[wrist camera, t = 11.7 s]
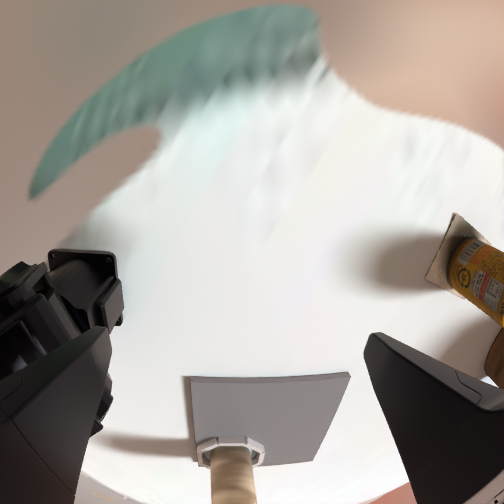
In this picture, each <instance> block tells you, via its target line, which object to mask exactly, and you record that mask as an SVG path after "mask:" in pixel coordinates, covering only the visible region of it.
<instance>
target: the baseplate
mask: <svg viewBox="0 0 504 504" xmlns="http://www.w3.org/2000/svg"><path fill="white" fill-rule="evenodd" d="M350 378H351V376H350V374H349V372H343V373H333V374H322V375H309V376H293V377H269V378H218V377H194V376H191V395H192V408H193V420H194V430H195V440H196V449H197V458H198V466H199V467H206V468H208V469H210V451H211V450H212V449H213V448H216V447H218V446H245V447H247V448H248V449H249V450H250V454H251V462H252V468H253V467H256V466H272V465H283V464H292V463H301V462H308V461H313V459H314V457H315V455H316V453H317V451H318V449H319V447H320V445H321V443H322V441H323V439H324V437H325V435H326V433H327V431H328V429H329V427H330V425H331V422H332V420H333V418H334V416H335V414H336V411H337V409H338V407H339V404H340V402H341V400H342V397H343V395H344V393H345V390H346V388H347V385H348V383H349V380H350Z"/></svg>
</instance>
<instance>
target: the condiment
mask: <svg viewBox="0 0 504 504" xmlns="http://www.w3.org/2000/svg"><path fill="white" fill-rule="evenodd" d="M465 235H466V236H465ZM444 264H445V267H446V269H445V267H444ZM425 279H426V280H428V281H429V282H431V283H433V284H435V285H438V286H439V287H441V288H443V289H445V290H447V291H449V292H451V293H453V294H455V295H457V296H459V297H461V298H463V299H465V298H466V299H468V300H469V301H470V302H472V303H473V304H474V305H476V306H477V307H478V308H479V309H481V310H482V311H483V312H485V313H486V314H487V315H489V316H490V317H491V318H492V319H494V320H495V321H496V322H497V323H498V324H499V325H500V326H501V327H503V328H504V252H502V251H500V250H498V249H496V248H494V247H492V246H491V243H490V242H489V241H488V240H486V239H485V238H484V237H483V236H482V235H481V234H480V233H479V232H478V231H477V230H476V229H474V227H472V226H471V225H470V224H469V223H468V222H467V221H465V220H464V219H463V218H462V217H461V216H460V215H458V214H456V216H455V218H454V220H453V222H452V224H451V226H450V228H449V230H448V233H447V235H446V236H445V238H444V240H443V243H442V245H441V247H440V249H439V250H438V252H437V255H436V258H435V260H434V262H433V263H432V265H431V267H430V270H429V272H428V274H427V276H426V277H425Z"/></svg>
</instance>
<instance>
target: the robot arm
mask: <svg viewBox="0 0 504 504" xmlns="http://www.w3.org/2000/svg"><path fill="white" fill-rule="evenodd" d="M52 254H53V255H54V256H55V258H54V257H53V256H52ZM108 257H110V258H111V260H112V261H111V262H110V261H109V260H108ZM48 261H49V267H50V271H49V272H47V270H48V269H47V267H46V265H45V263H44V262H43V263H41V264H39V265H37V264H34V265H32V266H31V265H30V266H29V265H27V264H26V263H24V262H23V261H21V262H19V263H18V264H16V265H15V266H13V267H12V268H11V269H9V270H8V271H6V272H5V273H4V274H2V275H1V276H0V504H74V499H75V496H74V495H75V493H76V488H77V484H78V479H79V475H80V471H81V467H82V463H83V459H84V455H85V451H86V447H87V444H88V440H89V438H90V437H91V436H93V435H94V434H96V433H97V432H99V431H100V430H102V429H103V425H102V424H101V423H100V422H101V421H102V420H103V419H104V417H105V415H106V413H107V412H108V410H109V408H110V406H111V404H112V401H113V396H112V395H111V388H112V380H111V378H110V375H109V373H108V368H109V363H110V359H111V355H112V346H111V341H110V337H109V334H110V333H111V331H112V329H113V327H114V326H120V325H121V324H122V322H123V315H122V311H123V309H124V303H123V295H122V286H121V281H120V280H119V278H118V274H117V263H116V256H115V255H114V254H113V253H110V252H94V251H76V250H58V249H52V250H51V251H49V253H48ZM117 320H119V321H117ZM364 360H365V363H366V366H367V369H368V372H369V376H370V379H371V382H372V386H373V389H374V391H375V394H376V396H377V399H378V401H379V404H380V406H381V408H382V411H383V413H384V416H385V418H386V421H387V423H388V425H389V428H390V430H391V433H392V436H393V438H394V441H395V443H396V446H397V448H398V451H399V454H400V456H401V459H402V462H403V464H404V467H405V470H406V473H407V475H408V478H409V481H410V482H411V483H410V484H411V487H412V490H413V493H414V496H415V499H416V502H417V504H504V390H503V389H500V388H498V387H495V386H493V385H490V384H488V383H485V382H483V381H480V380H478V379H475V378H473V377H471V376H469V375H467V374H464V373H462V372H460V371H458V370H456V369H455V370H454V368H452V367H450V366H448V365H446V364H444V363H442V362H440V361H438V360H436V359H434V358H432V357H430V356H428V355H426V354H424V353H422V352H420V351H418V350H416V349H414V348H412V347H410V346H408V345H406V344H404V343H402V342H400V341H398V340H396V339H394V338H392V337H390V336H388V335H386V334H384V333H381V332H377V333H371V334H370V335H369V338H368V341H367V344H366V346H365V349H364Z"/></svg>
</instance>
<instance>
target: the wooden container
mask: <svg viewBox="0 0 504 504" xmlns="http://www.w3.org/2000/svg"><path fill="white" fill-rule="evenodd" d="M485 373H486V374H487V375H488V376H489V377H490V378H491V380H492V381H493V382H494V383H495V384H496V385H497V386H498V387H499V388H500V389H503V390H504V328H502V330H501V331H500V333H499V335H498V336H497V338H496V340H495V342H494V344H493V346H492V347H491V350H490V352H489V354H488V357H487V360H486V363H485Z"/></svg>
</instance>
